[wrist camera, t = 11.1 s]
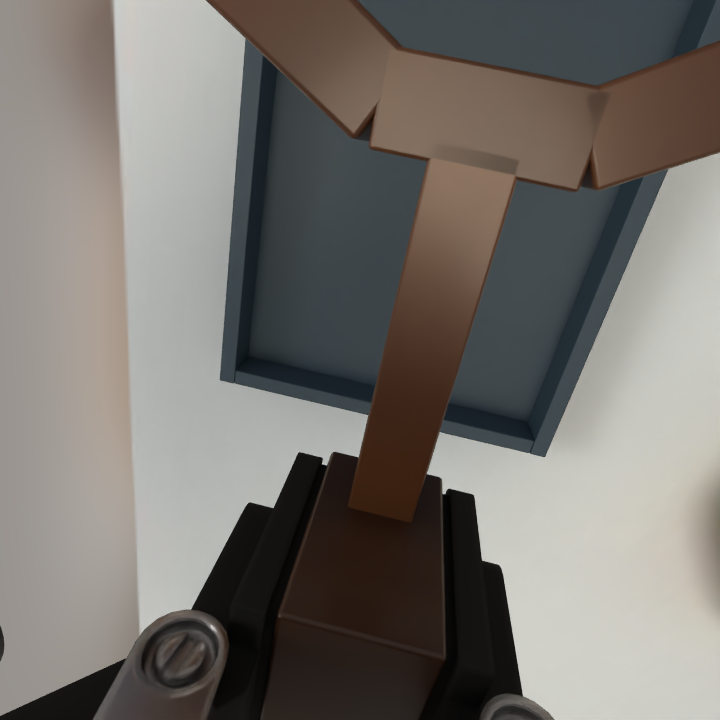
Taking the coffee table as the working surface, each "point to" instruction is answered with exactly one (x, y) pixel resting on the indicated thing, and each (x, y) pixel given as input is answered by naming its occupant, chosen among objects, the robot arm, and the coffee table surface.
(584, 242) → the tray
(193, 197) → the coffee table surface
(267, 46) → the brown ring with handle
